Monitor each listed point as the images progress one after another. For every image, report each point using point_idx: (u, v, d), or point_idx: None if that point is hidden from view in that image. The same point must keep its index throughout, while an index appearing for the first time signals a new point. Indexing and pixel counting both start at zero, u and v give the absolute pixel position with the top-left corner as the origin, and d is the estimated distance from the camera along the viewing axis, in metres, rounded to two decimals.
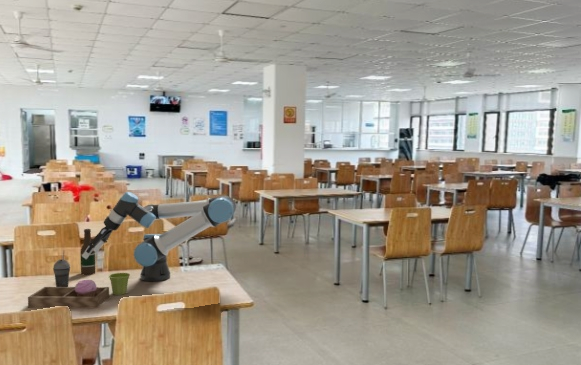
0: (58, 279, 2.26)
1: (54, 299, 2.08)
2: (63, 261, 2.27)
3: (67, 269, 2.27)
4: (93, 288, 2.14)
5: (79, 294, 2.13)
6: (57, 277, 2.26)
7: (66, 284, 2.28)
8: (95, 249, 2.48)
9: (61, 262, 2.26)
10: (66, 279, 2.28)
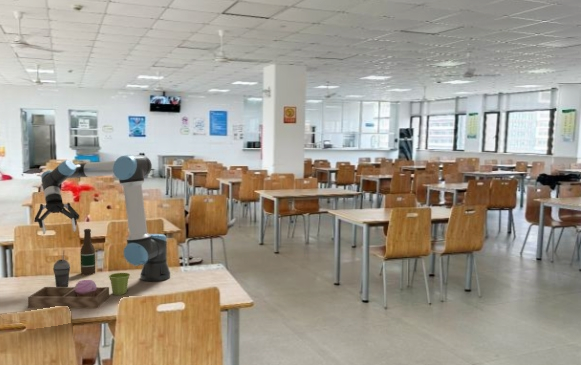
0: (58, 279, 2.26)
1: (54, 299, 2.08)
2: (63, 261, 2.27)
3: (67, 269, 2.27)
4: (93, 288, 2.14)
5: (79, 294, 2.13)
6: (57, 277, 2.26)
7: (66, 284, 2.28)
8: (73, 228, 2.42)
9: (61, 262, 2.26)
10: (66, 279, 2.28)
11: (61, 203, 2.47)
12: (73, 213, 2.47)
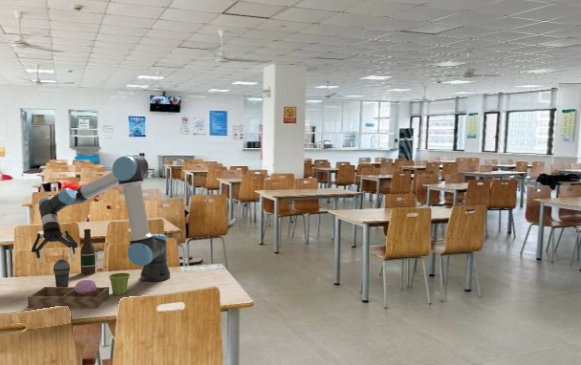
0: (58, 279, 2.26)
1: (54, 299, 2.08)
2: (63, 261, 2.27)
3: (67, 269, 2.27)
4: (93, 288, 2.14)
5: (79, 294, 2.13)
6: (57, 277, 2.26)
7: (66, 284, 2.28)
8: (71, 257, 2.36)
9: (61, 262, 2.26)
10: (66, 279, 2.28)
11: (59, 231, 2.41)
12: (71, 241, 2.41)
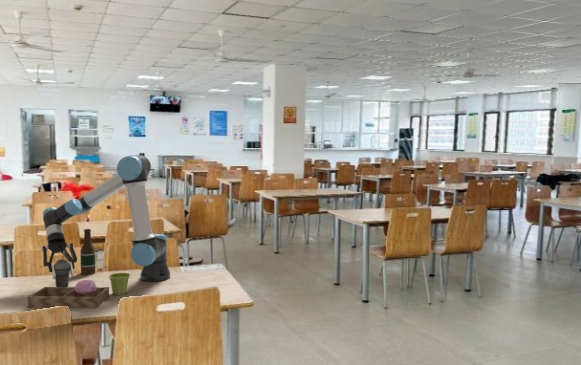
0: (58, 279, 2.26)
1: (54, 299, 2.08)
2: (63, 261, 2.27)
3: (67, 269, 2.27)
4: (93, 288, 2.14)
5: (79, 294, 2.13)
6: (57, 277, 2.26)
7: (66, 284, 2.28)
8: (71, 273, 2.29)
9: (61, 262, 2.26)
10: (66, 279, 2.28)
11: (64, 242, 2.36)
12: (72, 255, 2.35)
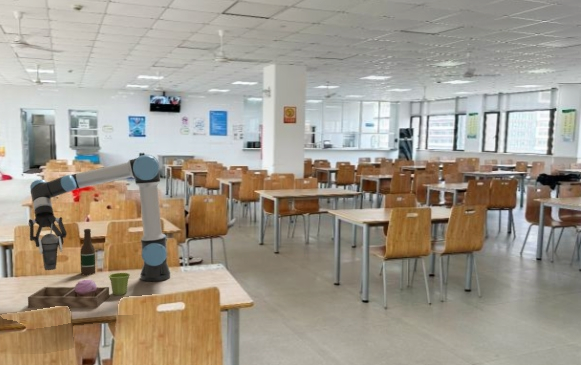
0: (45, 254, 2.11)
1: (54, 299, 2.08)
2: (51, 235, 2.12)
3: (55, 244, 2.12)
4: (93, 288, 2.14)
5: (79, 294, 2.13)
6: (44, 252, 2.11)
7: (54, 260, 2.13)
8: (59, 248, 2.13)
9: (49, 236, 2.11)
10: (54, 254, 2.13)
11: (52, 216, 2.21)
12: (61, 229, 2.19)
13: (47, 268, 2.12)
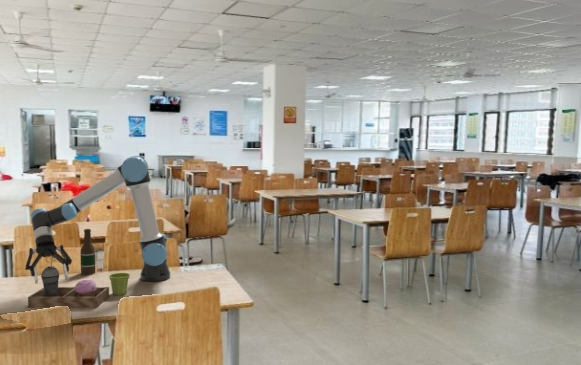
0: (46, 287, 2.12)
1: (54, 299, 2.08)
2: (51, 268, 2.13)
3: (56, 276, 2.13)
4: (93, 288, 2.14)
5: (79, 294, 2.13)
6: (45, 285, 2.12)
7: (55, 292, 2.14)
8: (65, 275, 2.16)
9: (49, 269, 2.12)
10: (55, 287, 2.14)
11: (53, 245, 2.22)
12: (65, 257, 2.21)
13: None
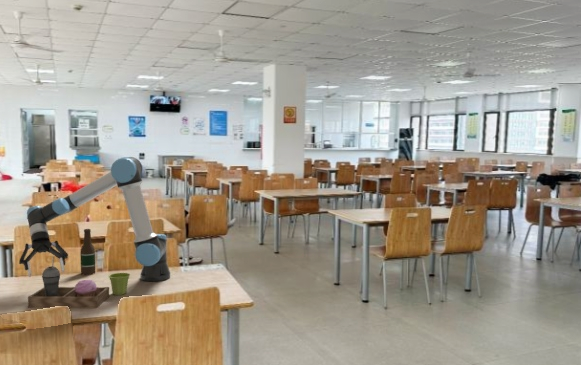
0: (47, 287, 2.12)
1: (54, 299, 2.08)
2: (52, 268, 2.13)
3: (57, 277, 2.13)
4: (93, 288, 2.14)
5: (79, 294, 2.13)
6: (46, 285, 2.12)
7: (56, 293, 2.14)
8: (61, 269, 2.25)
9: (50, 269, 2.12)
10: (56, 287, 2.14)
11: (48, 241, 2.30)
12: (61, 252, 2.30)
13: None
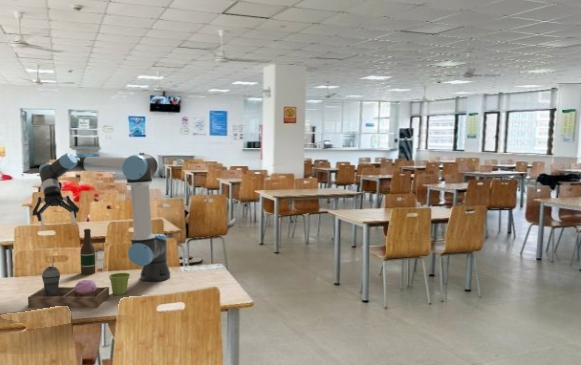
0: (47, 288, 2.12)
1: (54, 299, 2.08)
2: (52, 268, 2.13)
3: (57, 277, 2.13)
4: (93, 288, 2.14)
5: (79, 294, 2.13)
6: (46, 285, 2.12)
7: (56, 293, 2.14)
8: (73, 221, 2.34)
9: (50, 269, 2.12)
10: (56, 287, 2.14)
11: (60, 196, 2.39)
12: (72, 206, 2.39)
13: None
